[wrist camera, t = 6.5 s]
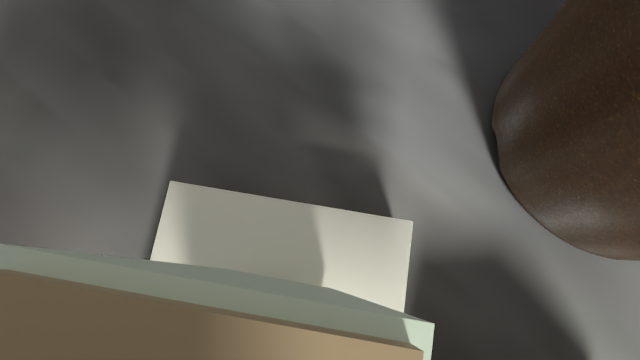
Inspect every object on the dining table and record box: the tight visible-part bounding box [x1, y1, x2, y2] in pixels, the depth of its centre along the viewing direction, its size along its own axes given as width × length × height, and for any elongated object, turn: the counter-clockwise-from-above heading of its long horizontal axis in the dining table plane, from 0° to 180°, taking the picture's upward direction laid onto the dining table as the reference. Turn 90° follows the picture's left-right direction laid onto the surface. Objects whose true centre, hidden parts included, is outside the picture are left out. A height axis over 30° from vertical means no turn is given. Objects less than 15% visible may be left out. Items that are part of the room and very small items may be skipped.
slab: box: [150, 181, 413, 313], centre depth 17 cm, size 10×10×3 cm
